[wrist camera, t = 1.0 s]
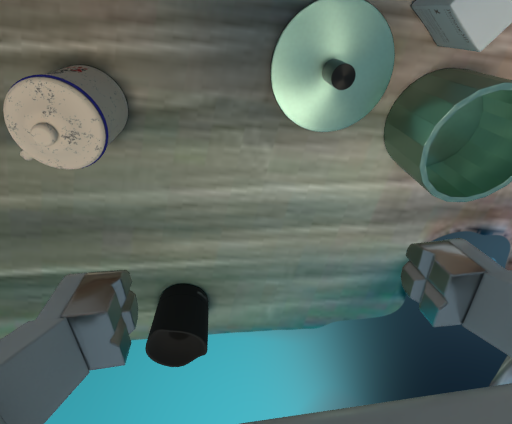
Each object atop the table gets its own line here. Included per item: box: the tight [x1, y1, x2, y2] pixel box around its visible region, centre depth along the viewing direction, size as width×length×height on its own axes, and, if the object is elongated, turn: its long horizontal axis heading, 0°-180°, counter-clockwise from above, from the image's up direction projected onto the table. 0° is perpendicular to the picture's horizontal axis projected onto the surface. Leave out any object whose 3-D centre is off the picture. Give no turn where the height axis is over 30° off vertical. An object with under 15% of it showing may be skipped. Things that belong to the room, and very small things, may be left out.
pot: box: [384, 68, 512, 202], centre depth 37 cm, size 13×14×10 cm
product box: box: [412, 0, 512, 52], centre depth 30 cm, size 6×6×7 cm
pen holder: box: [146, 284, 208, 367], centre depth 52 cm, size 9×9×10 cm
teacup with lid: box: [3, 65, 128, 169], centre depth 32 cm, size 12×9×12 cm
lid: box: [271, 0, 395, 132], centre depth 34 cm, size 14×14×5 cm
